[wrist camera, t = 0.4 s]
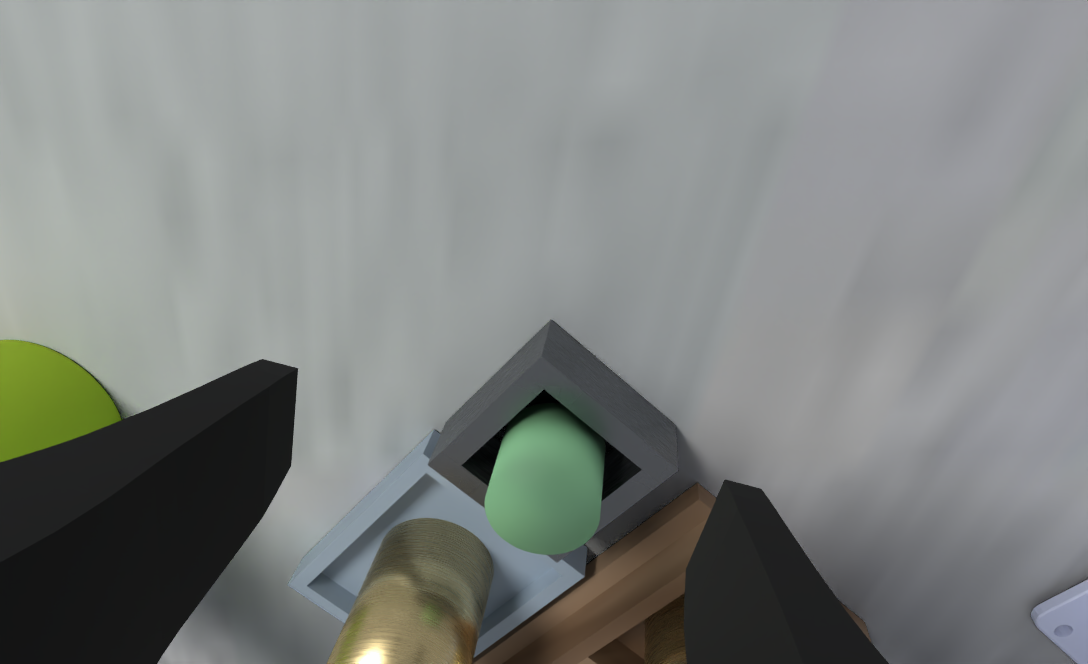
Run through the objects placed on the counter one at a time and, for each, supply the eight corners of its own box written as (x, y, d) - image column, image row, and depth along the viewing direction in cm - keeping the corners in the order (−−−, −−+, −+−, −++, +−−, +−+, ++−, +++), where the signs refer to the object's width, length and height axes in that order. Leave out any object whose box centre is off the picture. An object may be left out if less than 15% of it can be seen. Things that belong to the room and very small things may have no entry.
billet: (517, 566, 24) (478, 757, 18) (446, 622, 26) (389, 813, 20) (424, 498, 23) (352, 675, 18) (357, 560, 25) (271, 740, 19)
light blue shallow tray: (587, 547, 24) (584, 576, 23) (444, 655, 27) (436, 685, 26) (434, 429, 23) (422, 454, 22) (303, 557, 26) (286, 585, 25)
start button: (627, 447, 21) (625, 513, 18) (557, 504, 22) (547, 572, 19) (549, 383, 20) (536, 442, 18) (482, 445, 21) (461, 508, 19)
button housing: (675, 425, 22) (678, 470, 20) (564, 514, 24) (557, 563, 22) (551, 319, 21) (541, 356, 19) (445, 422, 23) (427, 464, 21)
